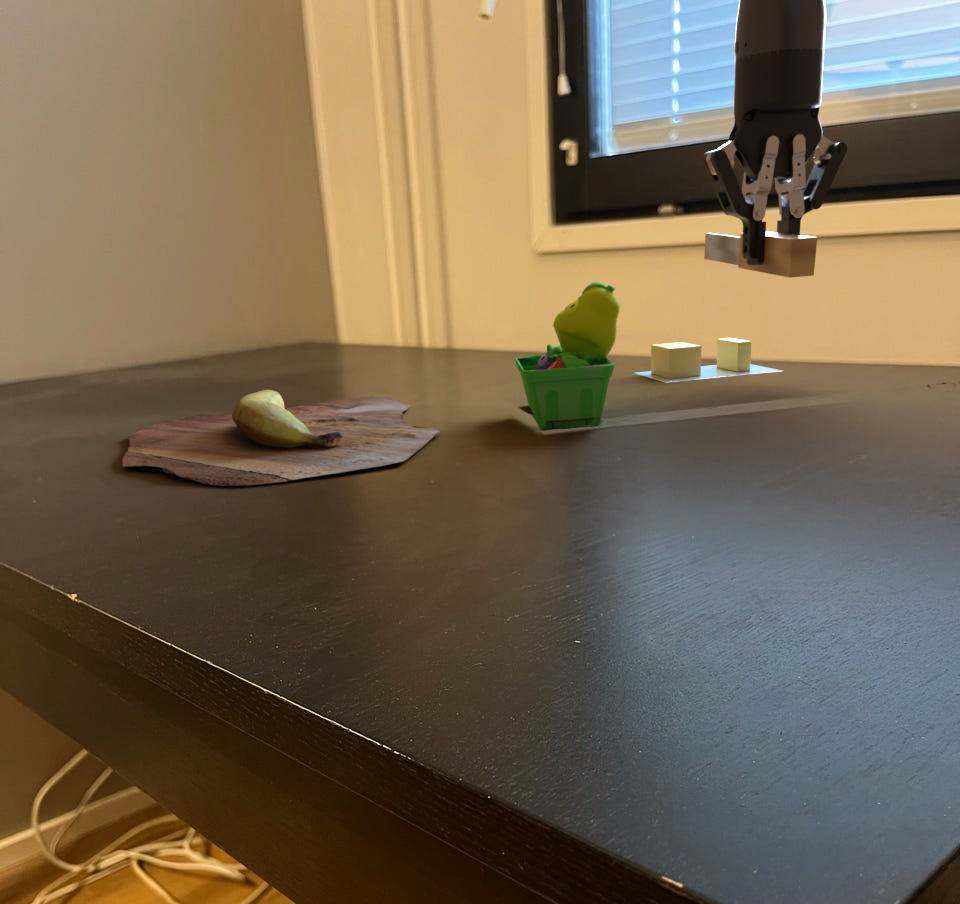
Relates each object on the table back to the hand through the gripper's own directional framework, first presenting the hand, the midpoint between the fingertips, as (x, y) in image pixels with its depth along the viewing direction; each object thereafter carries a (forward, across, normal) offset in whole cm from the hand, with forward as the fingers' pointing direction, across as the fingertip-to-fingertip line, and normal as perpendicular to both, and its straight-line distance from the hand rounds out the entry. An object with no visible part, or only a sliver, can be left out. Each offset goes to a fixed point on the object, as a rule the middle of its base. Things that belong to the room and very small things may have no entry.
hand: (770, 262), depth 92 cm
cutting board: (+11, -47, -2) cm, 49 cm away
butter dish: (+12, -2, +9) cm, 15 cm away
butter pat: (+11, +1, +9) cm, 14 cm away
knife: (0, 0, +4) cm, 4 cm away
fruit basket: (+12, -22, -6) cm, 26 cm away
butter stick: (+11, -6, +9) cm, 15 cm away
